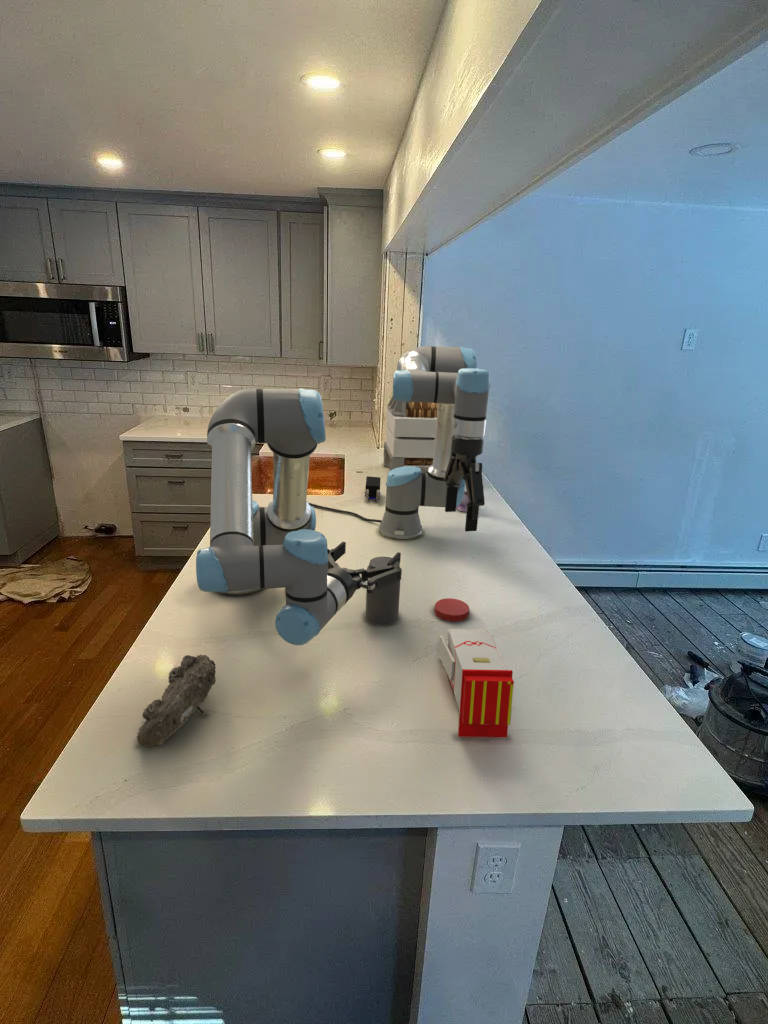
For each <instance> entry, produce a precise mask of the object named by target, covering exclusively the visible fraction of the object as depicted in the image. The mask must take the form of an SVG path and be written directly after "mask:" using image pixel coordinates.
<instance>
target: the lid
mask: <svg viewBox="0 0 768 1024" xmlns="http://www.w3.org/2000/svg"><path fill="white" fill-rule="evenodd" d="M433 612H434V614H435V616H436V617H437V618H439V619H441V620H443V621H447V622H452V623H453V622H454V623H456V622H462V621H466V619H468V617H469V615H470V606H469V604H468V603H466V602H465V601H463V600H461V599H457V598H452V597H451V598H449V597H448V598H441V599H438V600H437V601H436V602H435V604H434V610H433Z"/></svg>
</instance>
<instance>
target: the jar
mask: <svg viewBox="0 0 768 1024" xmlns="http://www.w3.org/2000/svg"><path fill="white" fill-rule="evenodd" d="M392 558H393V557H391V556H376V557H373V558H371V559H370V560H369V562H368V565H367V567H366V570H369V569H374V568H379V567H384V566H387V563H388V562H389V561H390V560H391V559H392ZM399 568H401V566H400V567H399ZM365 590H366V591H365V619H366V621H368V622H369V623H370V624H373V625H377V626H389V625H393V624H394V623H396V622H397V621H398V620H399V615H400V614H399V611H400V597H401V593H400V592H401V580H400V581H397V582H394V583H392V584H389V585H387V586H384V587H381V588H379V589H376V590H375V591H374V592H373V593H367V589H365Z"/></svg>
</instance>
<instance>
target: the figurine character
mask: <svg viewBox="0 0 768 1024" xmlns="http://www.w3.org/2000/svg"><path fill="white" fill-rule="evenodd" d="M364 490H365V491H364V498H365V499H367V502H370V501H371V500H374V502H375V503H376V502H377V501H378V500H377V499H380V495H381V476H368V475H367V476H366V479H365V489H364Z"/></svg>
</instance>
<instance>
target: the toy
mask: <svg viewBox="0 0 768 1024" xmlns="http://www.w3.org/2000/svg"><path fill="white" fill-rule="evenodd" d="M446 640H447V643H446V641H445V639H444V636H443V635H442V634H439V637H438V646H437V656H438V657H439V659H440V661H441V663H442V666H443V668H444V670H445V672H446V674H447V677H448V679H449V681H450V684H451V687H452V690H453V693H454V697H455V701H456V705H457V708H458V711H459V714H458V715H459V716H458V730H457V731H458V732H457V737H458V738H508V731H509V726H510V725H511V717H512V707H513V697H514V696H513V695H514V684H515V680H514V679H513V673H514V671H513V670H512V669H508V667H507V665H506V662H505V661H504V659H503V658H502V655H501V653H500V651H499V649H498V647H497V643H496V639H495V637H494V635H493V634H491V632H490V631H489V629H467V628H466V629H465V628H463V629H461V628H460V629H459V628H448V630H447V639H446Z"/></svg>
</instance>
